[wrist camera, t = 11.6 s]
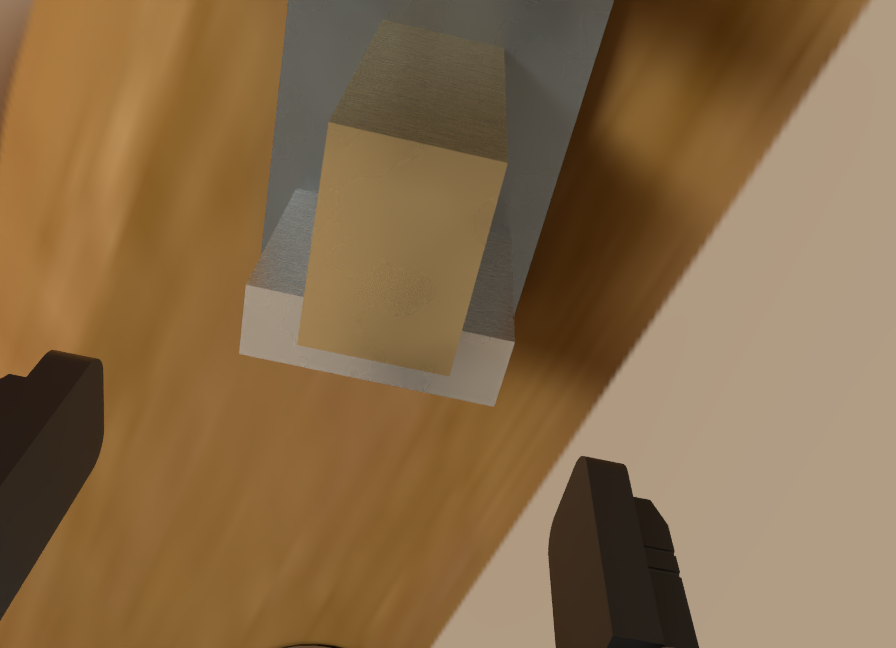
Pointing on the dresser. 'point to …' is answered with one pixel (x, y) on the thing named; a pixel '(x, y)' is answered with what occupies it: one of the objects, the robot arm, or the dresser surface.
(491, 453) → the dresser surface
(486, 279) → the vise
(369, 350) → the brass block
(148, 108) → the dresser surface
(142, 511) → the dresser surface
